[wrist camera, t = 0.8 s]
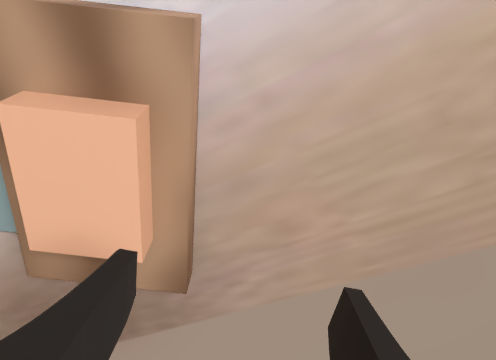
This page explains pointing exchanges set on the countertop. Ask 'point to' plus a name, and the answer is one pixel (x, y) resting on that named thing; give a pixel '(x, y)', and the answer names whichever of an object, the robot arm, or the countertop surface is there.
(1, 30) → the deck
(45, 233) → the tile
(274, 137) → the countertop surface
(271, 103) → the countertop surface
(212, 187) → the countertop surface
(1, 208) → the mat
